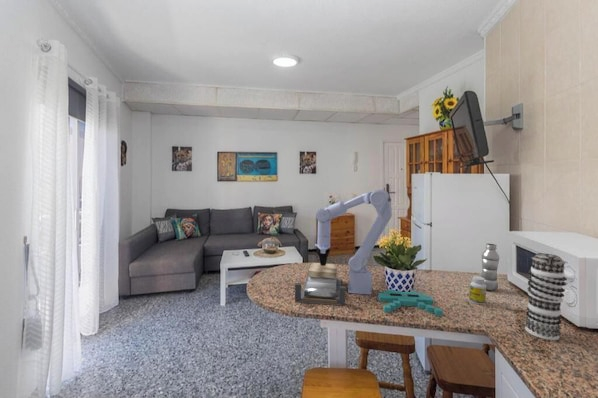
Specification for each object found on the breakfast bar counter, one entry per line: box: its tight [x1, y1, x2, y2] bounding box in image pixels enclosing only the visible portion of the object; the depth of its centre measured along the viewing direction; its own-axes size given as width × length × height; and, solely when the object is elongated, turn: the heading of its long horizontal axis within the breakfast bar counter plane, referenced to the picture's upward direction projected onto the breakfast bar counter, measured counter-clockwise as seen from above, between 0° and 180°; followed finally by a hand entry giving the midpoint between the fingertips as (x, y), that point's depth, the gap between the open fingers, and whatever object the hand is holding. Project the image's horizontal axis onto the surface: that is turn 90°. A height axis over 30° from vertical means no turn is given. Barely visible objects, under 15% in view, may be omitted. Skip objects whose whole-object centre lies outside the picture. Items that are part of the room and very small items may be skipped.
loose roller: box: [304, 287, 336, 300], centre depth 113 cm, size 12×4×4 cm, turn 81°
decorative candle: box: [524, 252, 568, 341], centre depth 91 cm, size 9×9×25 cm
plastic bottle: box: [480, 243, 500, 292], centre depth 126 cm, size 6×7×20 cm
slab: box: [308, 262, 338, 278], centre depth 130 cm, size 12×12×2 cm
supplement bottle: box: [468, 275, 487, 306], centre depth 114 cm, size 5×5×10 cm
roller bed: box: [294, 276, 346, 306], centre depth 123 cm, size 19×28×6 cm
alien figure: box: [377, 288, 444, 317], centre depth 113 cm, size 20×2×20 cm
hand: (323, 265), depth 130 cm, fingers closed
